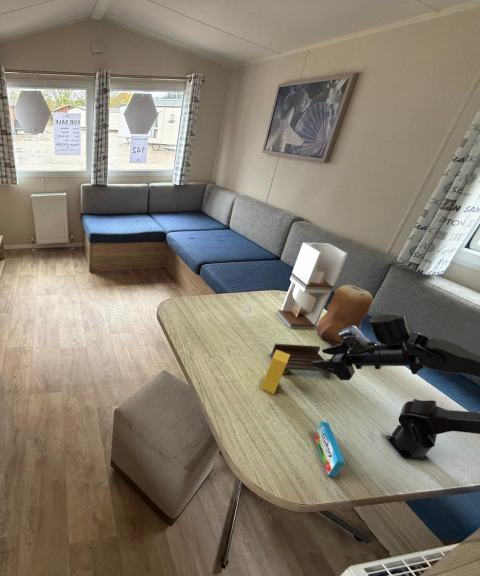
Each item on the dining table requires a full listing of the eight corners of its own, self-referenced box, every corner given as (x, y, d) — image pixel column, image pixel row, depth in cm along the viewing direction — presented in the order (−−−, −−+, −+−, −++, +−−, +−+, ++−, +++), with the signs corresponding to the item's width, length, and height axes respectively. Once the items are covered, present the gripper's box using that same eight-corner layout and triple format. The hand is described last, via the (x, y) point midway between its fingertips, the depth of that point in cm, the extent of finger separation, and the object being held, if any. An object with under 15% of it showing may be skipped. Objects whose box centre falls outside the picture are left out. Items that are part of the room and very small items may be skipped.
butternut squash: (347, 338, 128) (375, 285, 116) (356, 357, 117) (387, 301, 105) (309, 329, 133) (331, 277, 121) (314, 347, 122) (339, 292, 110)
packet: (277, 384, 104) (290, 354, 98) (273, 394, 100) (286, 363, 94) (265, 378, 106) (276, 349, 100) (260, 388, 102) (272, 357, 96)
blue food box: (334, 477, 76) (344, 462, 74) (328, 475, 77) (337, 460, 74) (319, 436, 87) (327, 421, 84) (313, 435, 87) (321, 420, 84)
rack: (329, 378, 107) (336, 365, 104) (282, 374, 108) (287, 361, 105) (313, 358, 116) (319, 346, 113) (270, 356, 117) (274, 343, 114)
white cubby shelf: (277, 313, 144) (303, 242, 127) (300, 314, 144) (329, 243, 127) (289, 327, 134) (319, 252, 117) (314, 328, 133) (348, 253, 117)
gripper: (379, 315, 87) (318, 322, 100) (362, 340, 77) (296, 344, 89) (394, 351, 87) (330, 354, 100) (379, 382, 76) (310, 380, 89)
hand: (317, 357), depth 95 cm, fingers open, 9 cm apart
